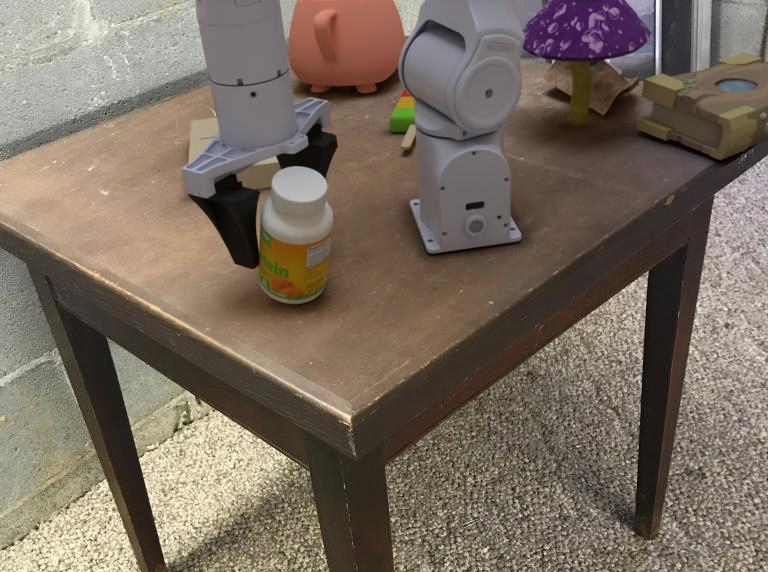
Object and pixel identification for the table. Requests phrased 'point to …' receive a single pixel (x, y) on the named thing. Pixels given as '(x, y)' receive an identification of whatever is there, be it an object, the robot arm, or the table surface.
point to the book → (711, 106)
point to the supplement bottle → (295, 236)
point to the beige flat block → (251, 177)
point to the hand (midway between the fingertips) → (277, 242)
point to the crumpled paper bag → (593, 82)
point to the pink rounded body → (345, 43)
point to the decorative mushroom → (584, 40)
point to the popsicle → (404, 119)
